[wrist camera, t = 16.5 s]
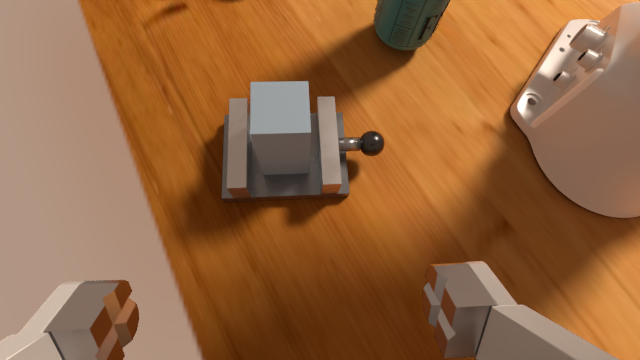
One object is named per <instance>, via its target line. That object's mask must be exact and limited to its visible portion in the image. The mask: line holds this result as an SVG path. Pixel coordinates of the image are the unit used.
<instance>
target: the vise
mask: <svg viewBox="0 0 640 360" xmlns="http://www.w3.org/2000/svg"><path fill="white" fill-rule="evenodd" d="M336 120H337V132H338V138H345V137H344V126H343V115H342V112H341V113H336ZM310 121H311V143H310V159H309V173H301V174H273V175H263V173H262V170H261V167H260V163H259V160H258V157H257V154H256V151H255V148H254V144H253V141H252V138H251V135H250V106H249V103H248V99H247V98H235V99H229V115H225V117H224V145H223V173H222V200H223V201H224V202H239V201H264V200H288V199H312V198H337V197H348V195H349V183H348V171H347V160H346V151H341V152H339V157H340V169H341V182H342V184H341V187H340V190H339V193H329V194H321V184H320V168H319V151H318V135H317V118H316V113H310Z"/></svg>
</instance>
